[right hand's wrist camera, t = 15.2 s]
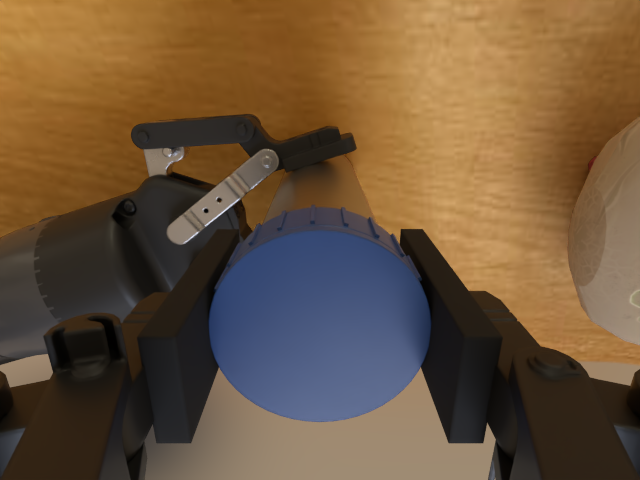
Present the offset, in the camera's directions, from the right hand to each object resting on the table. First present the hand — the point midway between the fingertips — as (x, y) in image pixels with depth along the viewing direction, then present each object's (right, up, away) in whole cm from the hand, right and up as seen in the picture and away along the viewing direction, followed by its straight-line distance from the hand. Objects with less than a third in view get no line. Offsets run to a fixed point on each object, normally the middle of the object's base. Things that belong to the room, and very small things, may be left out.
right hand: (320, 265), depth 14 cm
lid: (0, -1, -4) cm, 4 cm away
